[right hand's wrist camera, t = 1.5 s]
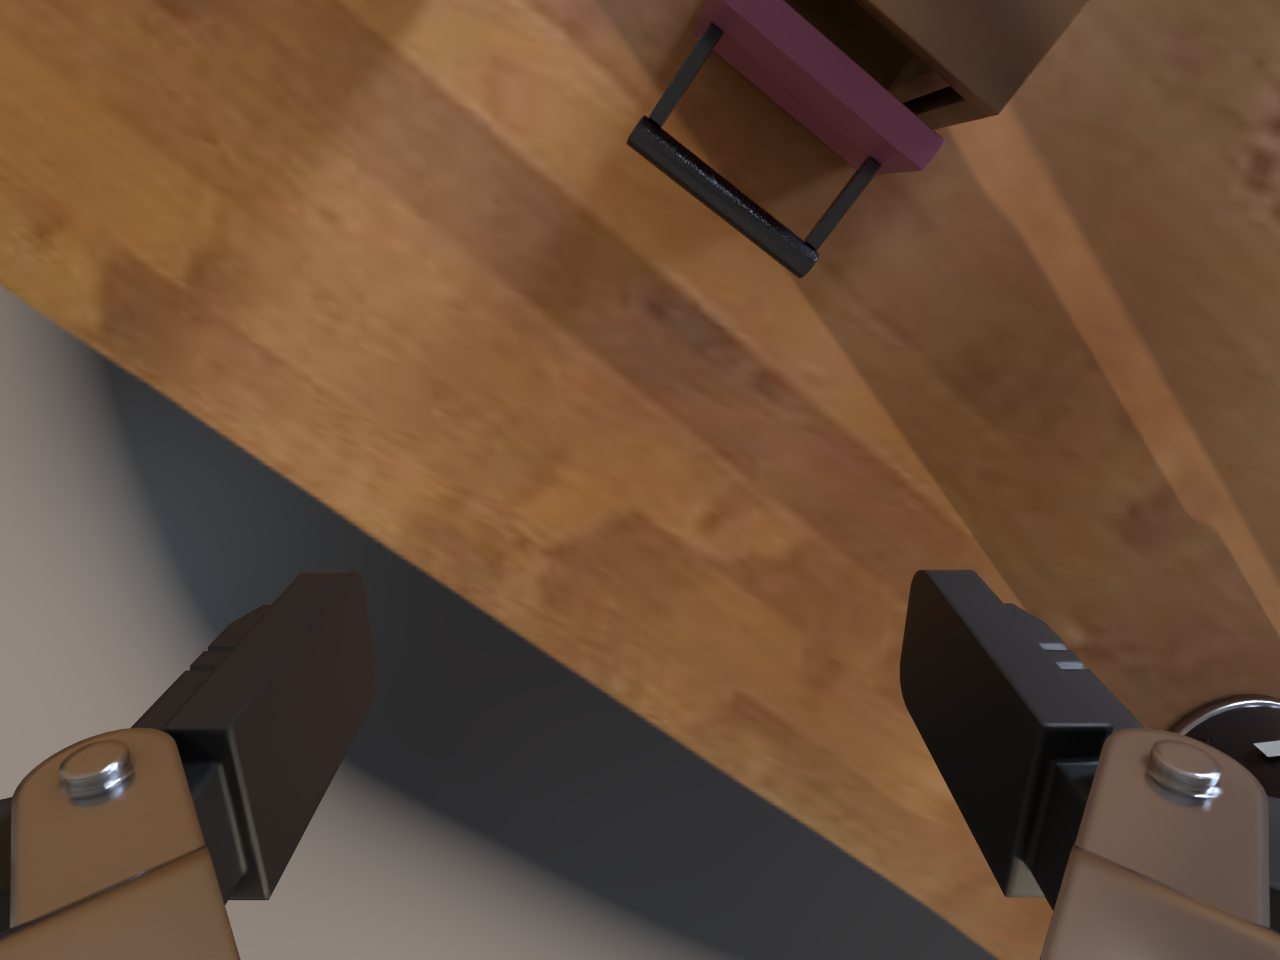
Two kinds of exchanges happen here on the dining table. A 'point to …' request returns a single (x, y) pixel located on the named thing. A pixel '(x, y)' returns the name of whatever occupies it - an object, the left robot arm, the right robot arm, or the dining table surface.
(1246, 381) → the dining table surface
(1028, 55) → the cabinet
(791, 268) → the drawer
